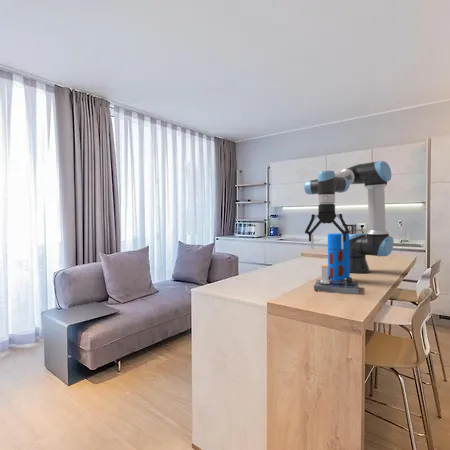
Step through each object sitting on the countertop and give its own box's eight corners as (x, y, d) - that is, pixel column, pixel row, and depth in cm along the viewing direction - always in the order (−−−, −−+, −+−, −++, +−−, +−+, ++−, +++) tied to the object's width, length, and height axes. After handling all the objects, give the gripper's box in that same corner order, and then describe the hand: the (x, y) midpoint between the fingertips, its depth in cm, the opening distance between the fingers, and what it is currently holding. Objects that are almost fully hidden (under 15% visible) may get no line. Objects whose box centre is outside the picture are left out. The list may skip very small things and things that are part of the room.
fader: (321, 281, 148) (321, 264, 148) (330, 281, 147) (329, 265, 146) (320, 283, 143) (320, 266, 143) (329, 283, 142) (328, 266, 142)
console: (317, 284, 155) (317, 275, 154) (358, 286, 147) (358, 277, 147) (314, 291, 141) (313, 281, 141) (358, 294, 134) (358, 284, 134)
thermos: (351, 282, 156) (351, 234, 155) (329, 282, 158) (329, 234, 157) (347, 278, 167) (346, 233, 166) (327, 278, 169) (326, 233, 168)
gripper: (298, 204, 145) (299, 248, 145) (355, 202, 135) (355, 249, 136) (301, 204, 152) (301, 247, 152) (355, 203, 142) (355, 248, 143)
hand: (327, 248), depth 144 cm, fingers open, 13 cm apart
